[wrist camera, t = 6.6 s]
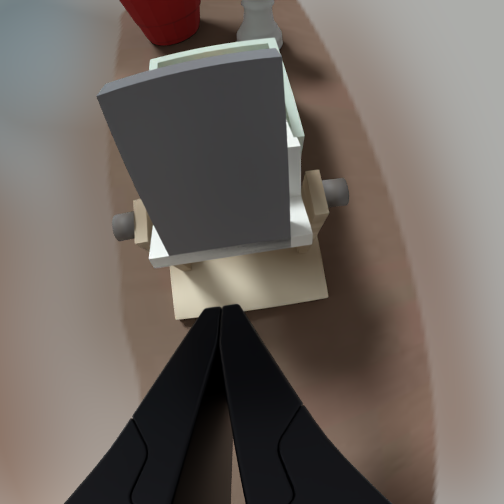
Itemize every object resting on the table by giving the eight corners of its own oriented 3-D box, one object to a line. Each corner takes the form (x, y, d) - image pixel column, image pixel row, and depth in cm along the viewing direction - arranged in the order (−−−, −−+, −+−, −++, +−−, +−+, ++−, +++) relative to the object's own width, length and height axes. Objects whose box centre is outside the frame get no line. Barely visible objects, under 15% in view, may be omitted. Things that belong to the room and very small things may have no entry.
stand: (327, 298, 21) (369, 282, 12) (177, 319, 21) (117, 319, 12) (307, 191, 22) (327, 118, 13) (167, 214, 22) (113, 155, 14)
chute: (312, 244, 12) (316, 54, 6) (154, 268, 12) (69, 106, 6) (268, 107, 18) (256, 3, 13) (174, 123, 18) (146, 23, 13)
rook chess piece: (292, 47, 25) (296, -18, 18) (255, 65, 25) (250, -3, 17) (263, 27, 26) (261, -34, 18) (227, 43, 26) (217, -20, 18)
